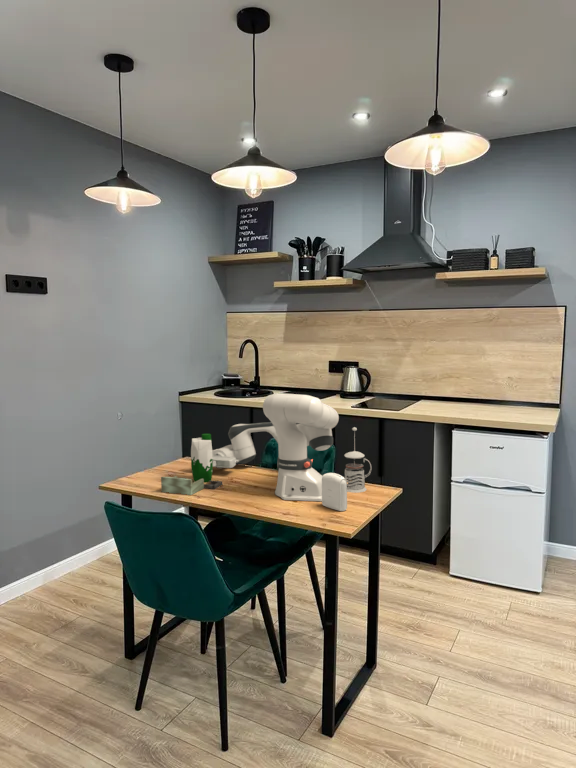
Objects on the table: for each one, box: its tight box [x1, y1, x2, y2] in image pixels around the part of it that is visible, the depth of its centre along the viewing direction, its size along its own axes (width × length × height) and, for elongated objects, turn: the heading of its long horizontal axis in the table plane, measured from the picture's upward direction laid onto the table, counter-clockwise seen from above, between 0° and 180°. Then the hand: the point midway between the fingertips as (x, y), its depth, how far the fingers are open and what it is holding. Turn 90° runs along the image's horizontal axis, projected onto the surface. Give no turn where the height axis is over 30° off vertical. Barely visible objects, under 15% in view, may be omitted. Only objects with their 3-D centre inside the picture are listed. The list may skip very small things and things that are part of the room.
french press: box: [343, 426, 373, 494], centre depth 210 cm, size 10×12×25 cm
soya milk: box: [190, 433, 214, 483], centre depth 226 cm, size 9×9×20 cm
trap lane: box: [160, 475, 223, 496], centre depth 215 cm, size 23×17×6 cm
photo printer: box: [321, 472, 348, 512], centre depth 187 cm, size 10×4×12 cm, turn 39°
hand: (205, 465), depth 231 cm, fingers closed
